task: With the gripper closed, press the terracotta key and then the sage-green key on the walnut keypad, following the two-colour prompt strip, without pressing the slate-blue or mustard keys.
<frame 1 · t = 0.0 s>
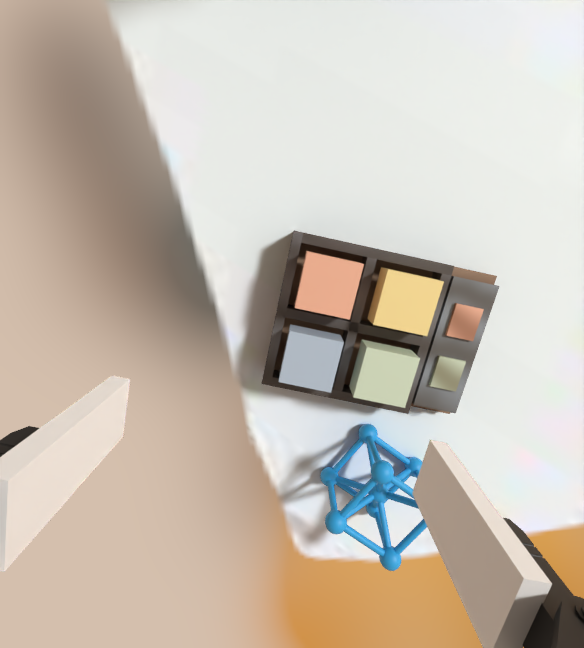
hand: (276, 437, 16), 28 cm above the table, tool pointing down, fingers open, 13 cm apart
keypad: (373, 324, 43), on the table
terracotta key: (327, 284, 37), point 5 cm above the table, slide at 0.0 cm
sage key: (382, 373, 39), point 5 cm above the table, slide at 0.0 cm
molecular structure: (369, 465, 48), on the table
slate key: (310, 357, 39), point 5 cm above the table, slide at 0.0 cm
mustard key: (403, 301, 37), point 5 cm above the table, slide at 0.0 cm
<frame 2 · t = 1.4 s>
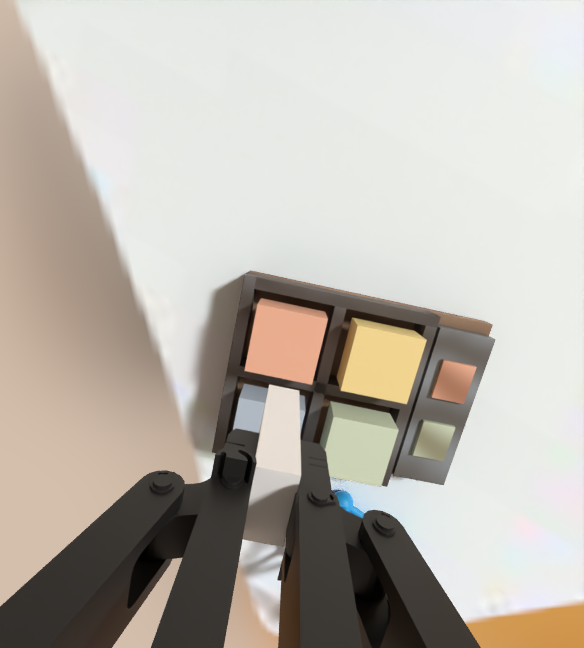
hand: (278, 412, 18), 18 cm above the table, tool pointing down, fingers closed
keypad: (347, 377, 36), on the table
terracotta key: (285, 340, 30), point 5 cm above the table, slide at 0.0 cm
sage key: (355, 443, 32), point 5 cm above the table, slide at 0.0 cm
molecular structure: (345, 534, 41), on the table
slate key: (267, 425, 32), point 5 cm above the table, slide at 0.0 cm
mustard key: (378, 359, 31), point 5 cm above the table, slide at 0.0 cm
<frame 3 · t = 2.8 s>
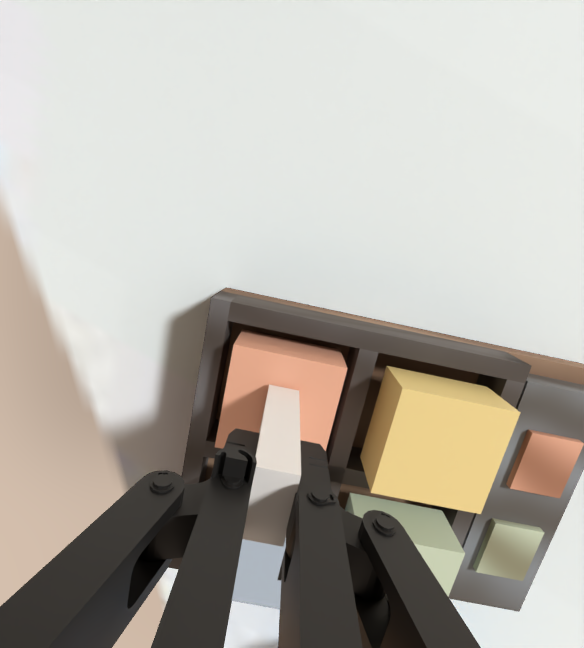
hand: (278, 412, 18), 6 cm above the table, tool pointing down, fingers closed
keypad: (372, 445, 25), on the table
terracotta key: (280, 396, 19), point 4 cm above the table, slide at 1.2 cm, touching gripper
sage key: (389, 562, 20), point 5 cm above the table, slide at 0.0 cm
slate key: (250, 535, 20), point 5 cm above the table, slide at 0.0 cm
mustard key: (431, 437, 19), point 5 cm above the table, slide at 0.0 cm
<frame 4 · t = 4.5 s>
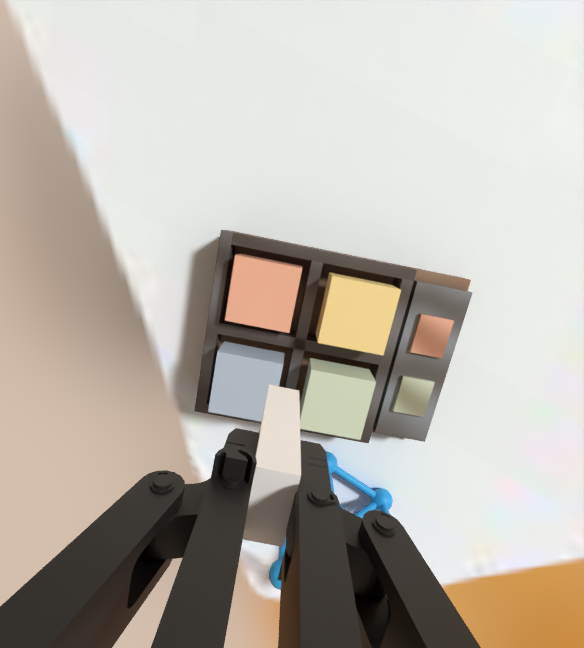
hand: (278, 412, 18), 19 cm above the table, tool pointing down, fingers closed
keypad: (328, 338, 37), on the table
terracotta key: (264, 292, 32), point 4 cm above the table, slide at 1.3 cm
sage key: (334, 398, 33), point 5 cm above the table, slide at 0.0 cm
molecular structure: (331, 497, 42), on the table
slate key: (247, 381, 32), point 5 cm above the table, slide at 0.0 cm
mustard key: (355, 313, 31), point 5 cm above the table, slide at 0.0 cm
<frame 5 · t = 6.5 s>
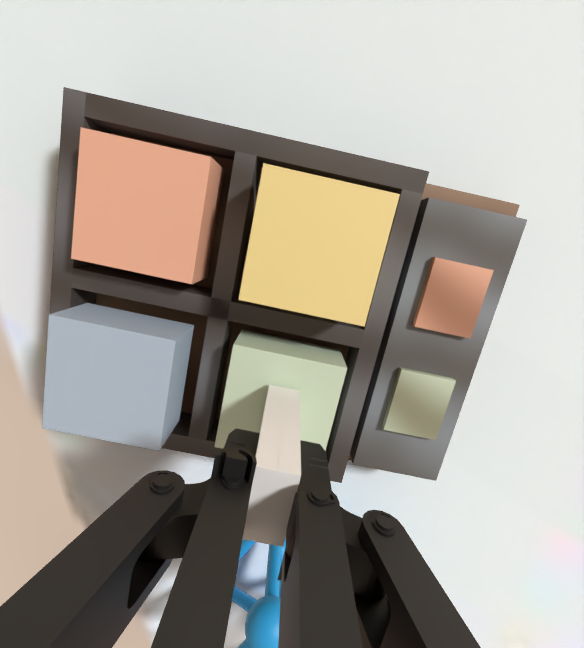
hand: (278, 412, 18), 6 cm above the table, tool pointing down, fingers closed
keypad: (280, 306, 22), on the table
terracotta key: (151, 211, 18), point 4 cm above the table, slide at 1.3 cm
sage key: (280, 395, 19), point 4 cm above the table, slide at 1.2 cm, touching gripper
molecular structure: (289, 556, 27), on the table
slate key: (122, 373, 18), point 5 cm above the table, slide at 0.0 cm
mustard key: (314, 247, 17), point 5 cm above the table, slide at 0.0 cm
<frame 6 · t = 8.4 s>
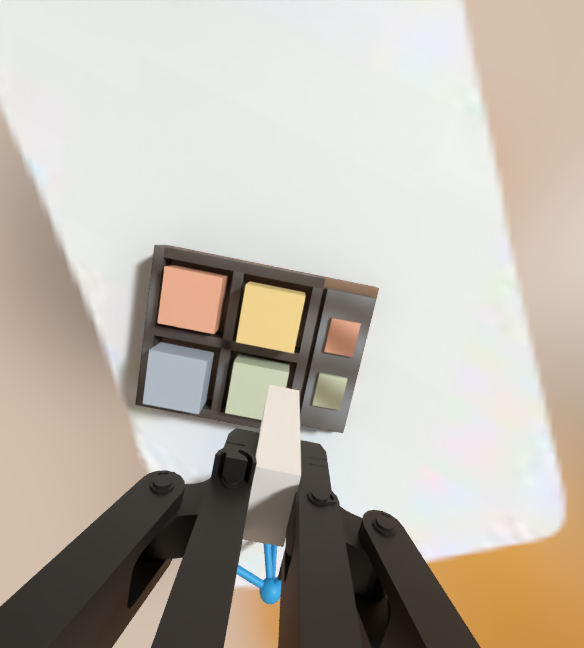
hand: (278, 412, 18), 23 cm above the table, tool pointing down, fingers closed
keypad: (259, 340, 41), on the table
terracotta key: (194, 298, 36), point 4 cm above the table, slide at 1.3 cm
sage key: (258, 387, 38), point 4 cm above the table, slide at 1.3 cm
molecular structure: (268, 487, 45), on the table
slate key: (179, 377, 37), point 5 cm above the table, slide at 0.0 cm
mustard key: (271, 316, 35), point 5 cm above the table, slide at 0.0 cm
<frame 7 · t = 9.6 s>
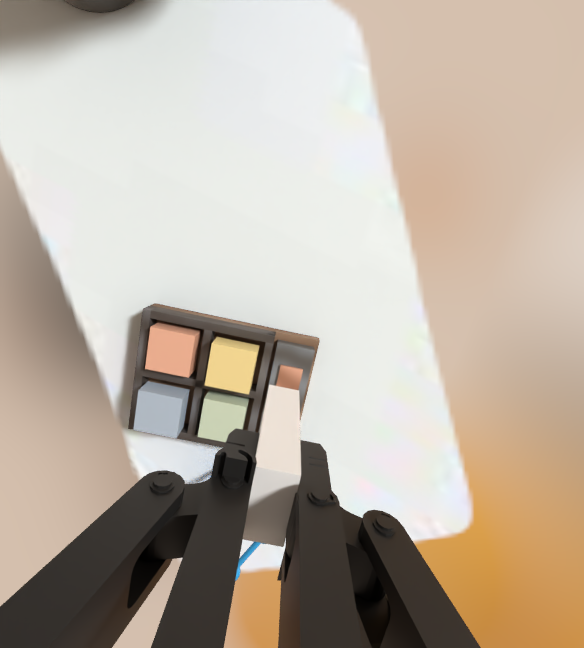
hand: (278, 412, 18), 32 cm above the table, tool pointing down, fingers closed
keypad: (227, 377, 52), on the table
terracotta key: (173, 349, 47), point 4 cm above the table, slide at 1.3 cm
sage key: (224, 416, 49), point 4 cm above the table, slide at 1.3 cm
slate key: (162, 409, 47), point 5 cm above the table, slide at 0.0 cm
mustard key: (232, 365, 46), point 5 cm above the table, slide at 0.0 cm
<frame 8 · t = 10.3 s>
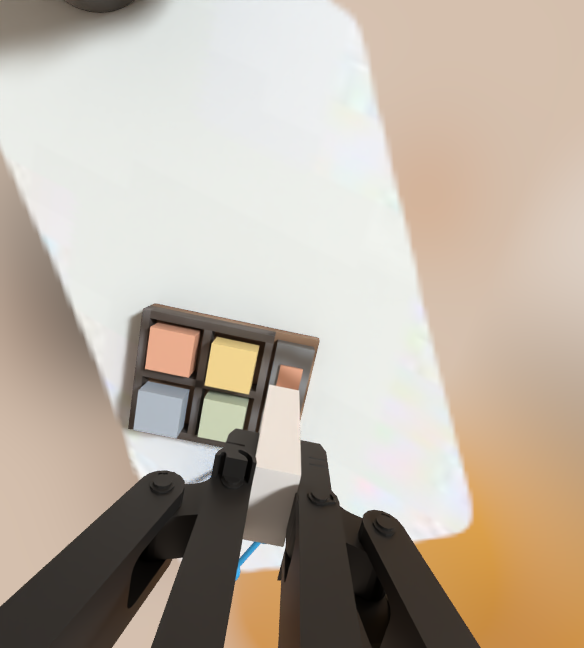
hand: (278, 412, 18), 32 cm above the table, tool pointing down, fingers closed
keypad: (227, 377, 52), on the table
terracotta key: (173, 349, 47), point 4 cm above the table, slide at 1.3 cm
sage key: (224, 416, 49), point 4 cm above the table, slide at 1.3 cm
slate key: (162, 409, 47), point 5 cm above the table, slide at 0.0 cm
mustard key: (232, 365, 46), point 5 cm above the table, slide at 0.0 cm
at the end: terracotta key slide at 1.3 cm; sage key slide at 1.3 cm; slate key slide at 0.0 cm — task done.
